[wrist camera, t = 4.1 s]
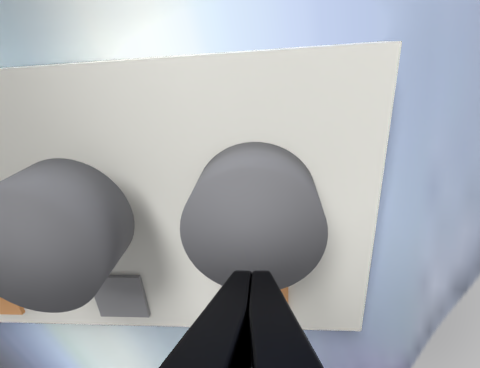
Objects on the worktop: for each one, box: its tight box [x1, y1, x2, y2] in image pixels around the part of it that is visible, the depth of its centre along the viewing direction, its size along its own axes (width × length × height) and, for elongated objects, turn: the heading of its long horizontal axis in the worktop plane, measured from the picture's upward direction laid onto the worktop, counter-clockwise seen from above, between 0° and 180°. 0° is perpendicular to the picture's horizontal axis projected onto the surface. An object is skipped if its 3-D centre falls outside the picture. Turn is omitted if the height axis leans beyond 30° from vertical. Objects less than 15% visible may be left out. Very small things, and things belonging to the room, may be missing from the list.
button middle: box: [0, 158, 135, 313], centre depth 10 cm, size 4×4×2 cm
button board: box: [0, 41, 402, 331], centre depth 13 cm, size 12×22×2 cm, turn 94°
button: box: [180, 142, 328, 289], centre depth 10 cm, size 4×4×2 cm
